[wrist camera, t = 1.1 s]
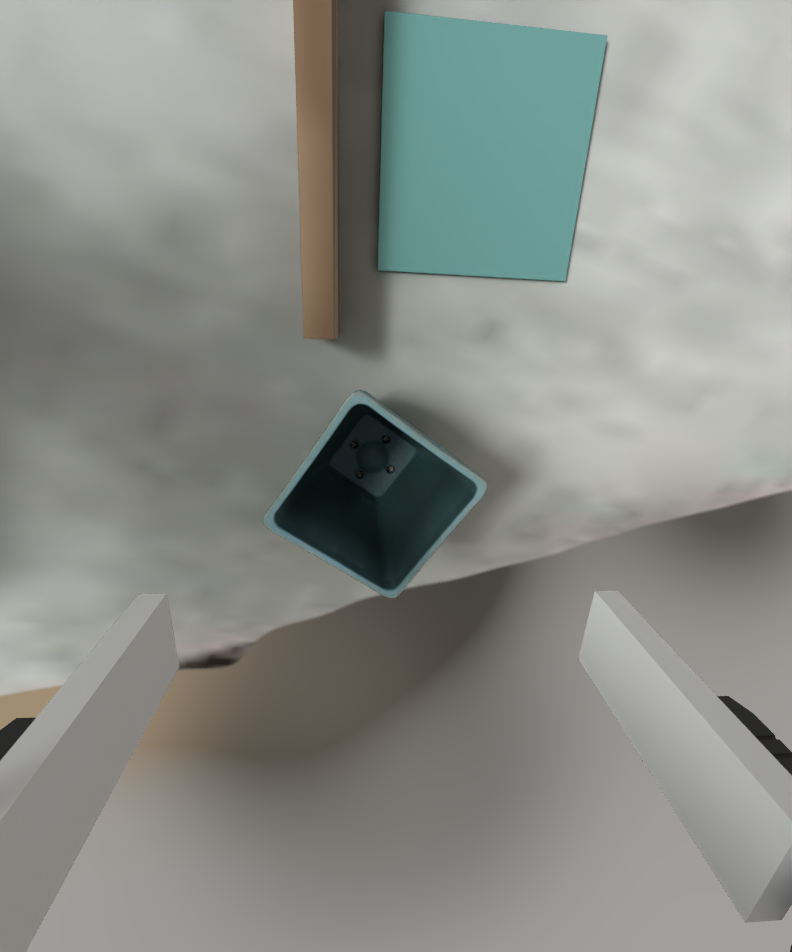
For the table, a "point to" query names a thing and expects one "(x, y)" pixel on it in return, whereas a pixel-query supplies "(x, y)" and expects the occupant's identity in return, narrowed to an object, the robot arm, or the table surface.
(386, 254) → the pad
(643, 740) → the robot arm
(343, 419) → the flower pot
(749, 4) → the table surface
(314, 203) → the corner arena
